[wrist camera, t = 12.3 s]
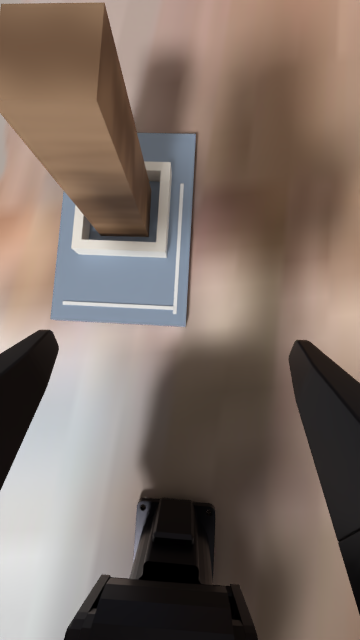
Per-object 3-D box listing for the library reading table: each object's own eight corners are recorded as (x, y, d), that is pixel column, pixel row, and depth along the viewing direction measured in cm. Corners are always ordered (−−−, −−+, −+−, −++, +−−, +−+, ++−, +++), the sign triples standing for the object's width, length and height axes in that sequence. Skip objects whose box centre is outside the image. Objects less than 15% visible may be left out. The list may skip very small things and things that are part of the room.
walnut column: (148, 237, 23) (96, 100, 10) (100, 235, 23) (-11, 99, 10) (151, 190, 23) (104, 2, 11) (104, 190, 24) (1, 3, 11)
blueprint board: (185, 326, 23) (185, 324, 21) (56, 320, 24) (40, 317, 21) (195, 142, 25) (196, 119, 22) (74, 139, 25) (62, 117, 23)
